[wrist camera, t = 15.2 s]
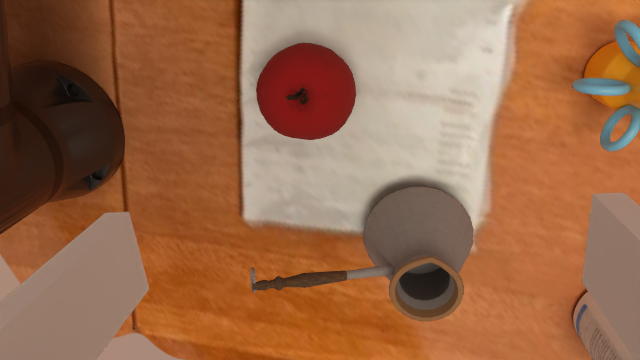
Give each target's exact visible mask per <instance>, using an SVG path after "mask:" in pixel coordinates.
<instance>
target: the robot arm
mask: <svg viewBox="0 0 640 360" xmlns="http://www.w3.org/2000/svg"><path fill="white" fill-rule="evenodd" d="M123 152H124V132H123V127H122V123H121V120H120V117H119V115H118V112H117V110H116V108H115V106H114V105H113V103H112V101H111V100H110V98H109V97H108V96H107V94H106V93H105V92H104V91H103V90H102V89H101V87H100V86H99V85H98V84H96V83H95V82H94V81H93V80H92V79H90V78H89V77H88V76H86V75H85V74H83V73H82V72H80V71H78V70H76V69H74V68H72V67H70V66H67V65H64V64H60V63H56V62H48V61H40V62H33V63H28V64H24V65H20V66H16V67H13V68H11V65H10V56H9V46H8V36H7V27H6V17H5V7H4V0H0V234H2V233H3V232H5V231H6V230H7V229H9V228H10V227H12V226H13V225H15V224H16V223H18V222H19V221H20V220H22V219H23V218H25V217H26V216H28V215H29V214H31V213H32V212H33V211H35V210H36V209H38V208H39V207H40V206H42V205H44V204H45V203H48V202H53V201H59V200H64V199H70V198H76V197H80V196H83V195H85V194H88V193H90V192H92V191H94V190H95V189H97V188H98V187H100V186H101V185H102V184H104V183H105V182H106V181H108V180H109V179H110V178H111V177H112V176H113V175H114V173H115V172H116V171H117V169H118V167H119V165H120V163H121V160H122V157H123ZM582 283H583V285H584V286H585V288H586V289H587V291H588V292H589V294H590V295H591V297H592V298H593V299H594V301H595V302H596V304H597V305H598V307H599V308H600V310H601V311H602V313H603V314H604V316H605V317H606V319H607V320H608V322H609V323H610V325H611V326H612V327H613V329H614V330H615V332H616V333H617V335H618V336H619V338H620V339H621V341H622V342H623V344H624V345H625V347H626V348H627V350H628V351H629V352H630V354H631V355H632V357H633V358H634V360H640V206H639V205H638V204H637V203H635V202H634V201H633V200H632V199H631V198H630V197H628V196H627V195H626V194H625V193H603V194H593V197H592V205H591V213H590V221H589V229H588V237H587V245H586V253H585V261H584V269H583V277H582ZM148 290H149V286H148V282H147V278H146V274H145V270H144V267H143V263H142V259H141V255H140V252H139V248H138V244H137V240H136V237H135V233H134V229H133V225H132V221H131V218H130V214H129V212H112V213H105V214H103V215H102V216H101V217H100V218H99V219H97V220H96V221H95V222H94V223H93V224H91V225H90V226H89V227H88V228H87V229H86V230H84V231H83V232H82V233H81V234H80V235H78V236H77V237H76V238H75V239H74V240H73V241H71V242H70V243H69V244H68V245H67V246H65V247H64V248H63V249H62V250H61V251H59V252H58V253H57V254H56V255H55V256H54V257H52V258H51V259H50V260H49V261H48V262H46V263H45V264H44V265H43V266H42V267H40V268H39V269H38V270H37V271H36V272H35V273H33V274H32V275H31V276H30V277H29V278H27V279H26V280H25V281H24V282H23V283H21V284H20V285H19V286H18V287H17V288H16V289H15V290H13V291H12V292H11V293H10V294H9V295H7V296H6V297H5V298H4V299H3V300H1V301H0V360H96V359H97V358H98V357H99V355H100V354H101V353H102V351H103V350H104V348H105V347H106V346H107V345H108V343H109V342H110V341H111V339H112V338H113V337H114V335H115V334H116V333H117V331H118V330H119V329H120V327H121V326H122V325H123V323H124V322H125V321H126V319H127V318H128V317H129V315H130V314H131V313H132V311H133V310H134V309H135V307H136V306H137V305H138V303H139V302H140V301H141V299H142V298H143V297H144V295H145V294H146V293H147V291H148Z"/></svg>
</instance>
